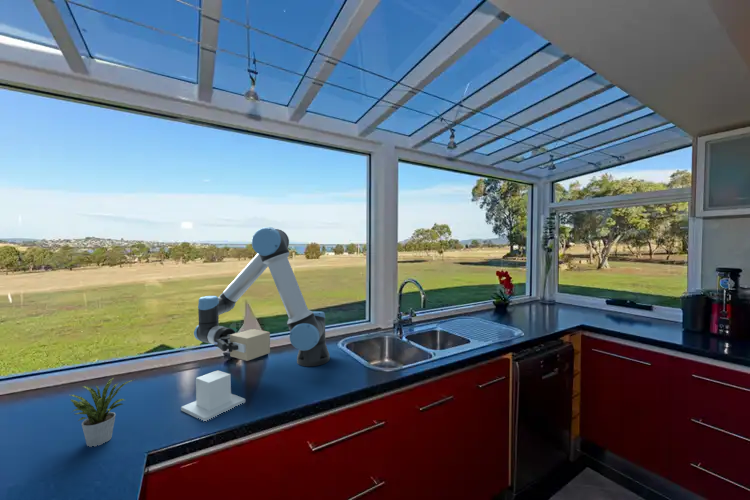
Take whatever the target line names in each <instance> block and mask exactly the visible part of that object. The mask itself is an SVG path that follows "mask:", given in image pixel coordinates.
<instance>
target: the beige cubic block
mask: <svg viewBox="0 0 750 500" xmlns="http://www.w3.org/2000/svg"><path fill="white" fill-rule="evenodd" d="M270 334H271V332H270V331H266V330H261V329H255V328H252V329H251V328H250V329H247V330H242V331H239V332H236V333H235V334H231V335H230V341H231V342H232V344H233V342H237V343H241V344H245V345H246V352H245V353H243V352H239V351H235V350H232V352H229V353H230V354H229V355H230V357H232V358H236V359H239V360H243V361H246V362H248V361H250V360H254V359H257V358H259V357H262V356H265V355H267V354H270V353H271V335H270Z"/></svg>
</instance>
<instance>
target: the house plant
mask: <svg viewBox="0 0 750 500" xmlns="http://www.w3.org/2000/svg"><path fill="white" fill-rule="evenodd" d="M113 380H114V377H112V378H111V379H109V380H108V381H107V383H106V384H105V385H104V388H103V390H102V393H101V391H100V388H99V386H98V385H95V387H96V389H97V391H96V390H95V389H94V388H92V387H88V386H86V385H82V387H83V388H84V389H86V390H87V391H88V392H89V393H90V395H91V398H92V400H93V402H94V406H95V407H94V406H93V405H92V404H91V403H90V402H88V400H87V399H85V398H84V397H82V396H79V395H76V394H70V396H72V397H75V398H76V399H78V400H75V399H70V402H72V404H73V405H74V408H75V407H76V408H75V409H73V410H72V411H71V413H73V412H74V411H75V412H76V411H80V412H76V413H75V415H86V416H87V417H85V416H84V417H83V416H82V417H80V418H79V419H78V420H77V422H79V421H82V422H81V428H82V431H83V435H84V439H85V443H86V446H87V447H88V446H89V447H88V448H93V447H92V446H94V447H98V446H102V445H104V444H105V442H106V443H107V442H108V441H110V440H111V439H112V436H113V432H114V428H115V427H114V426H115V421H116V415H117V414H116V412H112V411H111V410H113V409H115V408H117V407H120V406H122V405H123V406H124V405H125V404H124V403H120V402H123V401H125V399H124V398H119V399H116V400H115V401H114V402H112V404H110V403H111V401H112V400H113V398H114V397H115V396H117V394H118V393H119V392H121V389H122V388H123V386H125V385H126V384H128V383H130V382H133V381H134V379H131V380H128V381H125V382H124V383H122V384H121V385H119V383H115V384H113V385H112V387H111V384H112V381H113ZM118 385H119V386H118ZM117 386H118V387H117ZM110 387H111V389H110ZM116 387H117V388H116ZM109 390H110V392H109ZM108 393H109V395H108ZM101 394H102V395H101ZM107 395H108V396H107ZM109 405H110V406H109ZM103 443H104V444H103ZM97 445H98V446H97Z"/></svg>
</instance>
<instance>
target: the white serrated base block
mask: <svg viewBox="0 0 750 500" xmlns="http://www.w3.org/2000/svg"><path fill="white" fill-rule="evenodd" d="M231 377H232V376H231V373H228V372H225V371H221V370H214V371H212V372H209V373H206V374H203V375H200V376H197V377H196V378H195V400H194V401H192V402H189V403H187V404H185V405H182V406H181V407H180V410H181V412H184V413H186V414H188V415H190V416H192V417H194V418H196V419H198V418H199V419H198V420H200V419H201V420H200V421H202V420H203V422H204V421H206V422H208V421H210V420H212V419H214V418H216V417H218V416H217V415H219V414H221V413H223V412H225V413H227V412H229V411H231V410H233V409H235V408H236V407H235V406H237V407H238V405H239V406H241V405H243V404H245V403H246V398H244V397H241V396H240V395H239V396H238V395H236V394H233V393H232V387H231V386H232V385H231V384H232V383H231V381H232V380H231ZM242 403H243V404H242ZM240 404H241V405H240ZM234 407H235V408H234ZM232 408H233V409H232ZM230 409H231V410H230ZM228 410H229V411H228ZM226 411H227V412H226ZM223 414H224V413H223ZM221 415H222V414H221ZM215 416H216V417H215ZM219 416H220V415H219ZM213 417H214V418H213ZM211 418H212V419H211ZM209 419H210V420H209ZM207 420H208V421H207Z"/></svg>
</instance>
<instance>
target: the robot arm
mask: <svg viewBox="0 0 750 500" xmlns="http://www.w3.org/2000/svg"><path fill="white" fill-rule="evenodd" d="M289 245H290V238H289V236H288V234H287V233H286V232H285V231H284V230H282V229H279V228H275V227H271V226H269V227H268V226H266V227H262V228H259V229H257V230H256V231H255V232H254V233H253V235H252V238H251V247H252V249H253V250H254V252H255V253H256V255H255V256H254V257H253V258H252V259H251V260H250V261H249V262H248V264H246V266H244V268H243V269H242V270H241V271H240V272H239V273H238V275H237V276H236V277H235V278H234V280H232V281H231V283H230V284H228V286H227V287H226V288H225V289H224V290H223V292H222V293H221V294H220V295H219V296H217V295H204V296H201V297H199V299H198V305H197V308H198V309H197V310H198V325H196V327H195V328H194V331H193V337H194V338H195V339H196V340H197V341H200V342H202V343H207V344H211V345H214V347H215V348H216V347H217V348H219V350H221V351H222V352H226V351H227V350H228V352H229V353H230V352H232V350H235V351H239V352H243V353H245V352H246V345H245V344H241V343H237V342H233V344H232V342H231V341H230V335H231V334H235V333H237V332H236V331H235V330H234V329H233V328H230V327H226V326H223V325H219V321H220V320H219V318H220V317H219V316H220V315H223V314H225V313H228V312H230V311H232V310H233V309H234V308H235V306H236V303H237V302H238V300H239V299H240V298H241V297H242V296H243V295H244V294H245V293H246V292H247V290H248V289H249V288H250V287H251V286H252V285H253V284H254V282H256V280H258V278H259V277H260V276H261V275H262V274H263V273H264V272H265V271H266V269H267V268H268V269H269V272H270V274H271V277H272V279H273V281H274V285H275V287H276V289H277V292H278V294H279V297H280V300H281V301H282V304H283V307H284V309H285V311H286V314H287V316H288V319H287V321H286V323H287V324H286V325H287V327H288V330H289V331H290V333H289V342H290V344H291V346H293V348H295V349H297V350H298V353H297V356H296V363H297V365H299V366H302V367H317V366H321V365H324V364H327V363H328V362H329V361H330V359H331V358H330V352H329V349H328V347H327V342H326V313H325V312H324V311H313V310H310V309H308V306H307V304H306V301H305V298H304V295H303V294H302V291H301V289H300V285H299V284H298V281H297V278H296V276H295V273H294V270H293V268H292V266H291V263H290V261H289V259H288V258H289V255H290V251H289V249H288V248H289V247H290V246H289Z"/></svg>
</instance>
